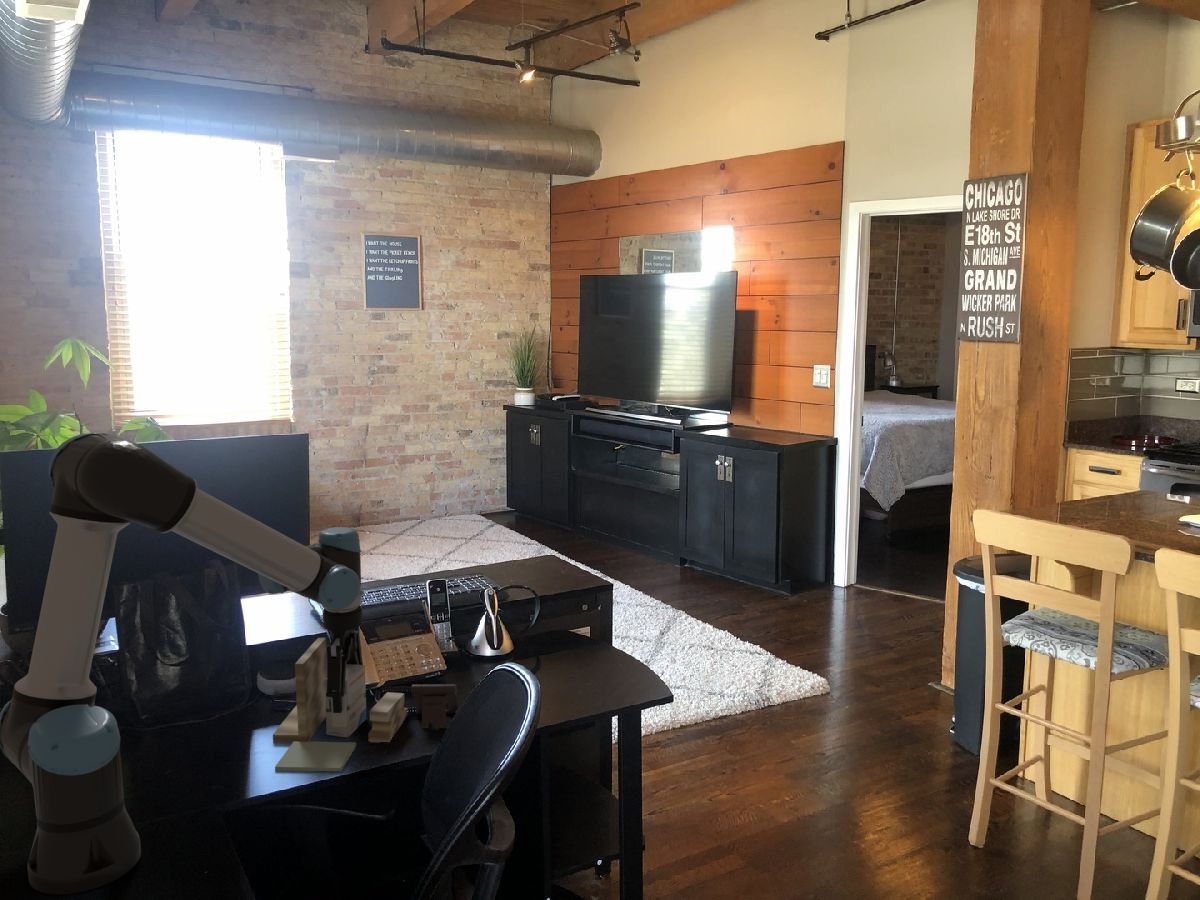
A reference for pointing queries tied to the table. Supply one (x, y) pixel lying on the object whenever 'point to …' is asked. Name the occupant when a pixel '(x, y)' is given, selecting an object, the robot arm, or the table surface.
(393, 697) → the offcut stack
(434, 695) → the portable electronic device stand
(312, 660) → the wooden bookend
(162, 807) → the table surface
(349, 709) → the ink box
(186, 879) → the table surface
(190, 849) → the table surface
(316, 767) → the sage mat
